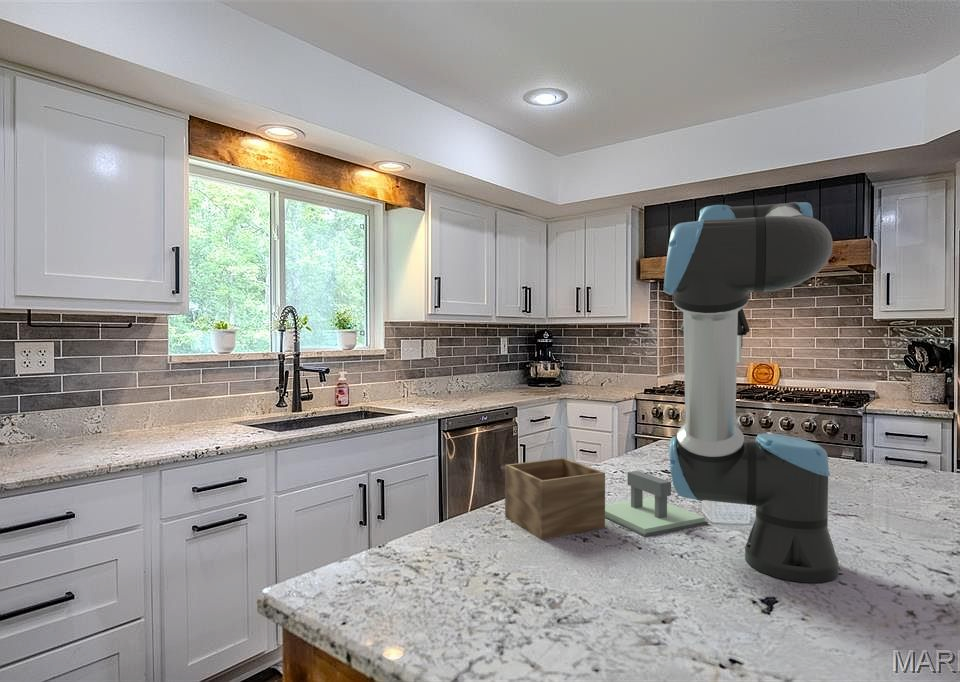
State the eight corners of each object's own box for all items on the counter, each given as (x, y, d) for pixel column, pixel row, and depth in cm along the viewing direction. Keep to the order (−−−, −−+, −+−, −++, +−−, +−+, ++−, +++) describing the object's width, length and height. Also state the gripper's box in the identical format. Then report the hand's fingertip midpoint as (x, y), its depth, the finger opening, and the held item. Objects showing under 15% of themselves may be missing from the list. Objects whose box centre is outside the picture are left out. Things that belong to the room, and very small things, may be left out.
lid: (704, 521, 131) (705, 481, 131) (644, 533, 124) (644, 491, 124) (651, 501, 147) (651, 464, 146) (595, 510, 139) (595, 472, 139)
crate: (604, 527, 129) (605, 472, 128) (541, 539, 122) (541, 481, 121) (563, 507, 143) (563, 457, 143) (505, 516, 136) (504, 464, 136)
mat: (708, 523, 131) (708, 522, 131) (644, 536, 123) (644, 534, 123) (651, 501, 147) (651, 500, 147) (592, 512, 139) (592, 510, 139)
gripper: (739, 275, 149) (738, 360, 149) (664, 272, 137) (663, 364, 138) (766, 273, 142) (765, 362, 143) (688, 270, 131) (688, 366, 131)
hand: (715, 363), depth 140 cm, fingers open, 13 cm apart
